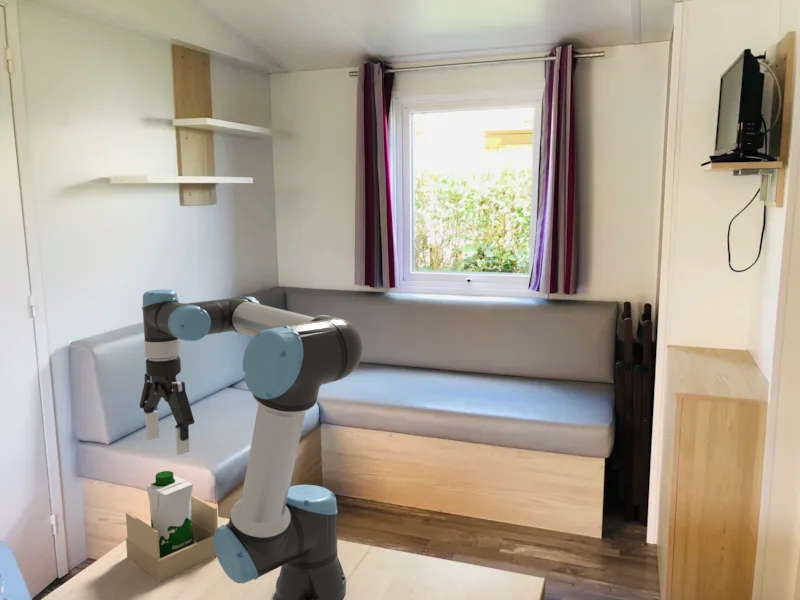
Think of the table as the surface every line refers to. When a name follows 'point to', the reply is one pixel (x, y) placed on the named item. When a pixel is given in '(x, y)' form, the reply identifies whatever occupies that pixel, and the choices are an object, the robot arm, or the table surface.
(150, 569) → the wooden tray box
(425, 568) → the table surface
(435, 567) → the table surface
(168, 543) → the soya milk
